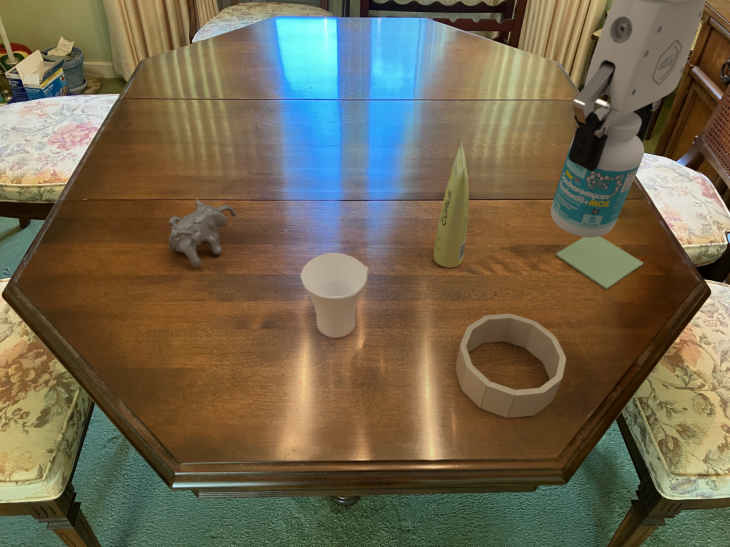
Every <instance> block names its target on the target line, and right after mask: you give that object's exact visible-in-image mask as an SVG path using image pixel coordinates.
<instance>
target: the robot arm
mask: <svg viewBox="0 0 730 547" xmlns="http://www.w3.org/2000/svg"><path fill="white" fill-rule="evenodd" d="M706 1H707V0H613V2H612V4H611V7H610V9H609V12H608V14H607V15H606V19H605V21H604V24H603V26H602V29H601V32H600V35H599V37H598V40H597V42H596V46H595V49H594V52H593V54H592V57H591V60H590V64H589V68H588V71H587V74H586V78H585V82H584V87H583V88H582V89H581V91H580V92H579V93H578V95H577V96H576V97H575V99H573V101H572V108H573V112H574V120H575V123H574V127H576V129H575V132H574V135H575V136H574V135H573V137H574V139H573V138H572V139H573V143H572V146H571V149H570V153H569V156H568V158H569V160H570V161H572V162H574V163H576V164H578V165H580V166H582V167H584V168H586V169H588V170H590V171H593V170H595V169H597V167H598V164H599V161H600V158H601V155H602V152H603V149H604V147H605V144H606V141H607V138H608V135H605V134H604V133H605V132H606V130H607V129H608V127H609V125H610V124H611V122H612V120H613V119H614V117H615V115H616V114H617V112H618V113H620V114H628V113H631V112H634V113H636V114H637V115H638V116H639V117H640V118H641V120H642V123H641V126H640V129H639V131H638V133H637V134H636V136H637V137H638V138H639V139H640V140H641V142H642V143H644V141H645V139H646V136H647V133H648V130H649V128H650V125H651V123H652V120H653V118H654V115H655V112H654V111H656V110H657V109H658V107H659V106H660V104H661V100H662V98H664V97H666V96H668V95H670V94H671V93H672V92H674V91H675V89H676V88H677V87H678V84H679V82H680V81H681V77H682V75H683V72H684V69H685V66H686V64H687V61H688V58H689V56H690V53H691V50H692V47H693V45H694V41H695V38H696V36H697V32H698V31H699V27H700V23H701V20H702V16H703V13H704V9H705V5H706ZM604 95H607V96H609V97H610V102H609V101H607V100H605V99H602V98H601V97H602V96H604ZM596 107H599V108H604V109H607V111H606V112H605V114H604V116H603V117H602V119H601V121H600V120H599V118H598V116H597V114H596V113H595V112H594V111H596V110H595V109H596Z"/></svg>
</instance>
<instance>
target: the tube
mask: <svg viewBox="0 0 730 547" xmlns="http://www.w3.org/2000/svg"><path fill="white" fill-rule="evenodd" d="M469 188H470V186H469V176H468V168H467V161H466V156H465V151H464V147H463V141H461V142H460V146H459V148H458V150H457V151H456V155H455V158H454V161H453V163H452V167H451V171H450V175H449V178H448V181H447V185H446V188H445V193H444V196H443V200H442V206H441V210H440V215H439V220H438V225H437V231H436V235H435V243H434V249H433V260H434V262H435V263H436V264H437V265H439V266H441V267H443V268H449V269H451V268H456V267H458V266H460V265H461V264H462V263H463V261H464V257H465V251H466V250H465V249H466V242H467V233H468V225H469V213H470V212H469V209H470V208H469V207H470V189H469Z"/></svg>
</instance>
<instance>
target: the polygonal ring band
mask: <svg viewBox="0 0 730 547" xmlns="http://www.w3.org/2000/svg"><path fill="white" fill-rule="evenodd" d="M500 342H504V343H507V344H511V345H514V346H517V347H519V348H523V349H525V350H527V352H529V353H531V355H533V356H534V357H535V358H537V359H538V360H539V361H540V362H541V363H542V365H543V367H544V369H545V372H546V374H547V376H548V379H549V380H548V381H546V382H545V383H544V384H543V385H541V386H540V387H532V388H522V389H514V388H511V387H509V386H506V385H502V384H499V383H496V382H494V381H491V380H489V379H488V377H486V376H485V375H484V374H483V373H482V372H481V371H479V369H477V367H475V366H474V365H473V362H472V360H471V357H470V354H469V353H470V352H472V351H473V350H474V349H476V348H478V347H480V346H481V345H482V344H488V343H500ZM566 363H567V357H566V355H565V352H564V350H563V348H562V346H561V344H560V341H559V340H558V338H557V336H556V335H555V334H553V333H552V332H550V331H549V330H548V329H546V328H545V327H544V326H543V325H541V324H540V323H539V322H537V321H535V320H533V319H530V318H526V317H523V316H520V315H517V314H513V313H498V314H497V313H496V314H486V315H484V316H482V317H481V318H478V319H476V320H475V321H474V322H472V323H471V324H469V325H467V327H466V328H465V331H464V334H463V336H462V339H461V341H460V344H459V348H458V352H457V358H456V363H455V367H454V368H455V373H456V377H457V379H458V384H459V387H460V390H461V391H462V393H464V394H465V395H466V396H467V398H469V399H470V400H471V401H472V402H473V403H474V404H475V405H476V406H477V407H478V408H479V409H481V410H482V411H483V410H484V411H486V412H489V413H492V414H494V415H497V416H500V417H502V418H506V419H507V418H508V419H511V418H514V419H515V418H524V417H533V416H536V415H537V414H539V413H540V412H542V411H543V410H544V409H545V408H546V407H548V406H549V405H550V404H551V403H552V402H553V401H554V399H555V396H556V394H557V392H558V390H559V387H560V385H561V382H562V381H563V377H564V373H565V368H566Z"/></svg>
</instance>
